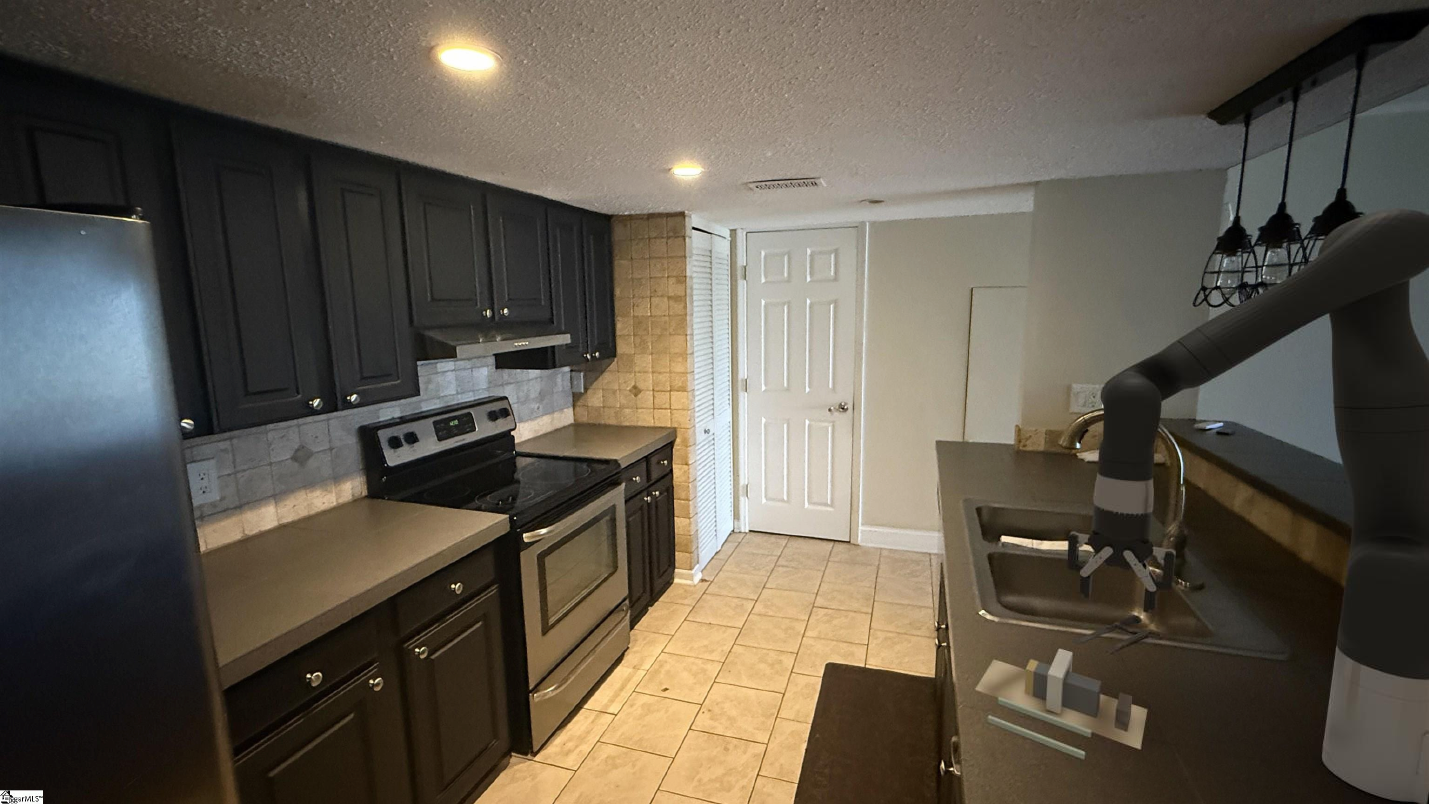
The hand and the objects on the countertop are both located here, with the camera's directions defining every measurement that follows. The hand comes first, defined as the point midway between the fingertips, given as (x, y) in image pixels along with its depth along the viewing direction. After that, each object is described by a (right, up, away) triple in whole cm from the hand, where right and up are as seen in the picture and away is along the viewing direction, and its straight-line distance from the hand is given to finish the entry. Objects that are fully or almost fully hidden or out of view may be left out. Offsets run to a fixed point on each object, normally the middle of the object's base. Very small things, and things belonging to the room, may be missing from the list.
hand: (1116, 603), depth 94 cm
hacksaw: (+15, -15, +20) cm, 29 cm away
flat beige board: (-7, -18, +4) cm, 19 cm away
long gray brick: (-6, -17, +3) cm, 18 cm away
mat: (-14, -19, -3) cm, 23 cm away
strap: (-7, -18, +4) cm, 19 cm away
